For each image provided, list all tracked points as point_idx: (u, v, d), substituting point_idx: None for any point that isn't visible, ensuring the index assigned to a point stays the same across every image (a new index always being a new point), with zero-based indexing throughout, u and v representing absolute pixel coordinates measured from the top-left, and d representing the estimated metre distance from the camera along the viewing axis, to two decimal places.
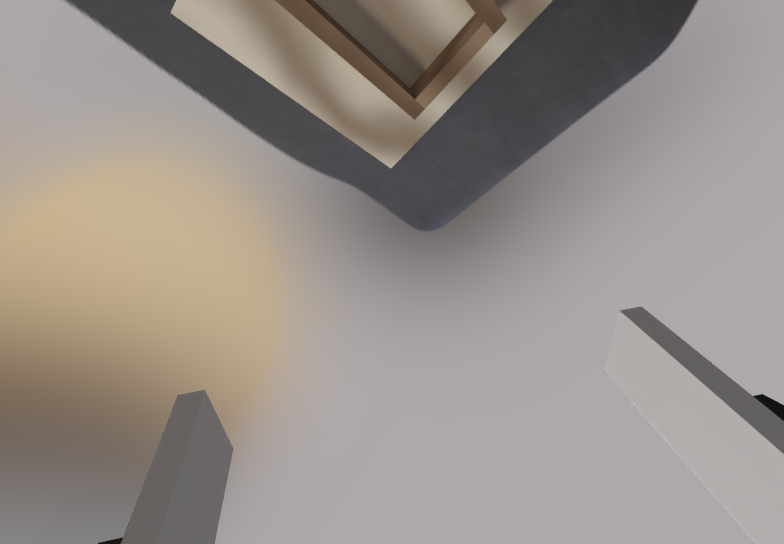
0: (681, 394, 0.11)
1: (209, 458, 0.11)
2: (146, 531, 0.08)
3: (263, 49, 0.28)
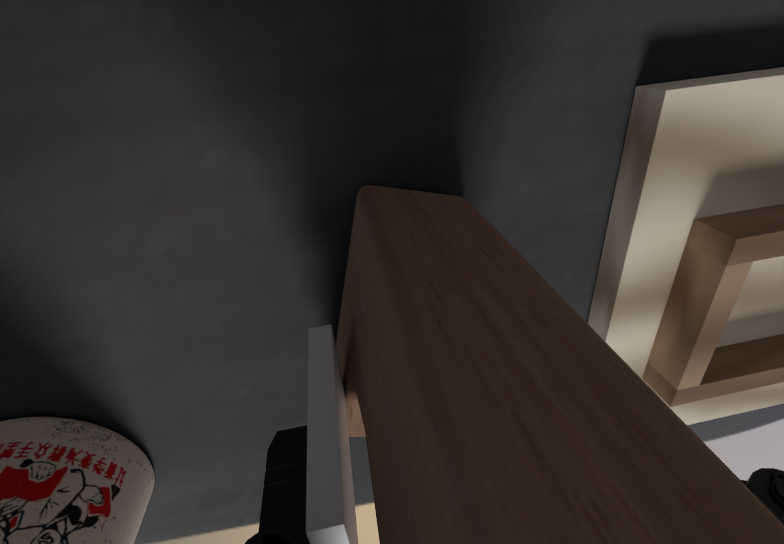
0: None
1: (339, 379, 0.13)
2: (325, 416, 0.10)
3: None
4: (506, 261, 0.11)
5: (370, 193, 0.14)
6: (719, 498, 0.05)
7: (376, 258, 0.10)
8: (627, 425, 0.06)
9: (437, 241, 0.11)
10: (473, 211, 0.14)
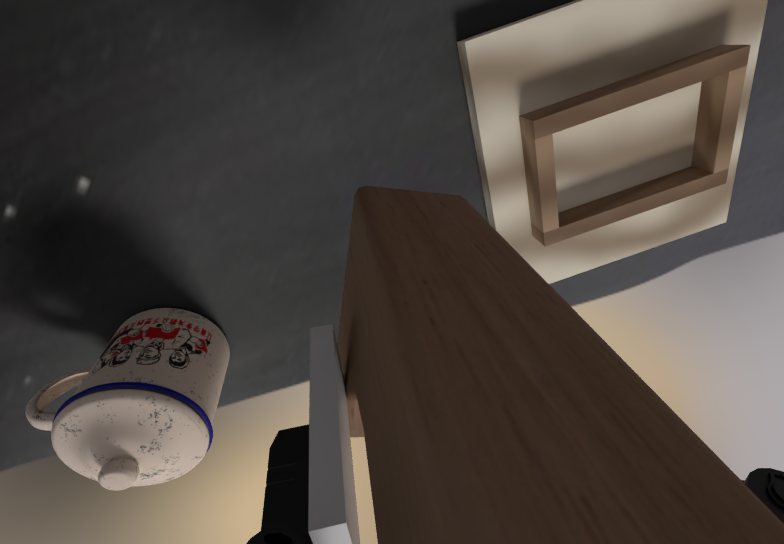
0: None
1: (340, 379, 0.13)
2: (327, 415, 0.10)
3: (567, 260, 0.33)
4: (502, 259, 0.11)
5: (367, 194, 0.14)
6: (711, 491, 0.05)
7: (372, 258, 0.10)
8: (620, 419, 0.06)
9: (433, 240, 0.11)
10: (470, 210, 0.14)
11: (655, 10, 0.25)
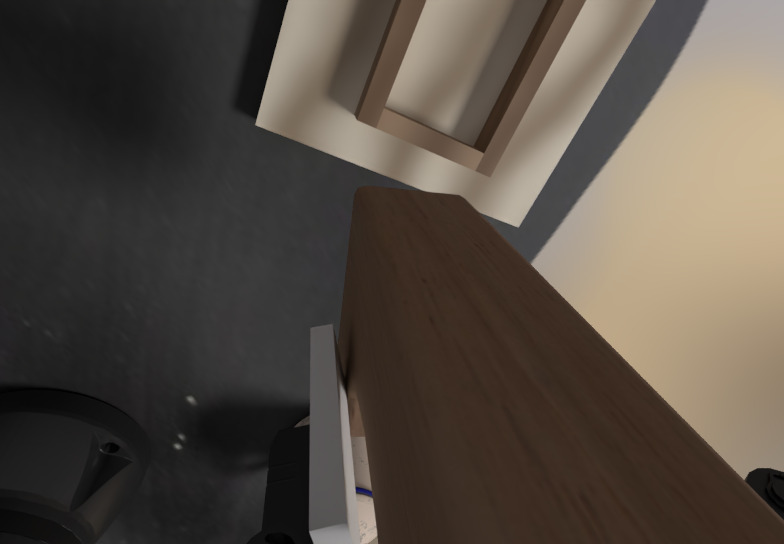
0: None
1: (341, 379, 0.13)
2: (327, 415, 0.10)
3: (540, 150, 0.28)
4: (502, 257, 0.11)
5: (366, 194, 0.14)
6: (712, 488, 0.05)
7: (371, 257, 0.10)
8: (620, 418, 0.06)
9: (432, 239, 0.11)
10: (470, 209, 0.14)
11: None
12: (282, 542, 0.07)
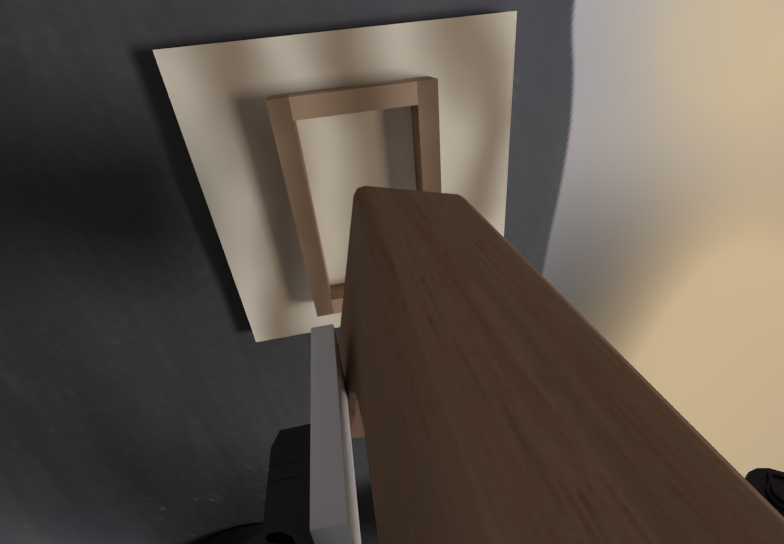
0: None
1: (341, 378, 0.13)
2: (328, 415, 0.10)
3: None
4: (501, 257, 0.11)
5: (365, 194, 0.14)
6: (712, 487, 0.05)
7: (370, 257, 0.10)
8: (619, 416, 0.06)
9: (431, 238, 0.11)
10: (469, 208, 0.14)
11: (234, 188, 0.25)
12: (283, 542, 0.07)
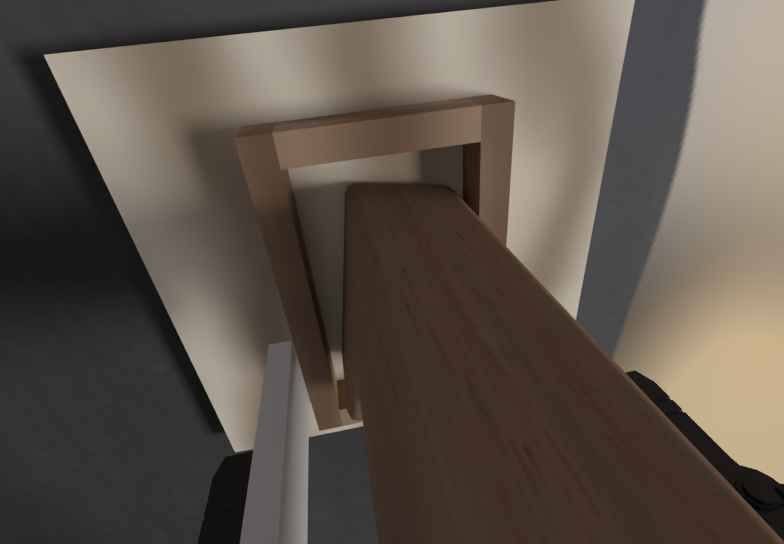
0: None
1: (299, 398, 0.12)
2: (272, 442, 0.10)
3: None
4: (480, 244, 0.11)
5: (355, 191, 0.15)
6: (644, 437, 0.06)
7: (358, 252, 0.11)
8: (571, 381, 0.07)
9: (415, 231, 0.12)
10: (455, 199, 0.15)
11: (194, 261, 0.16)
12: None
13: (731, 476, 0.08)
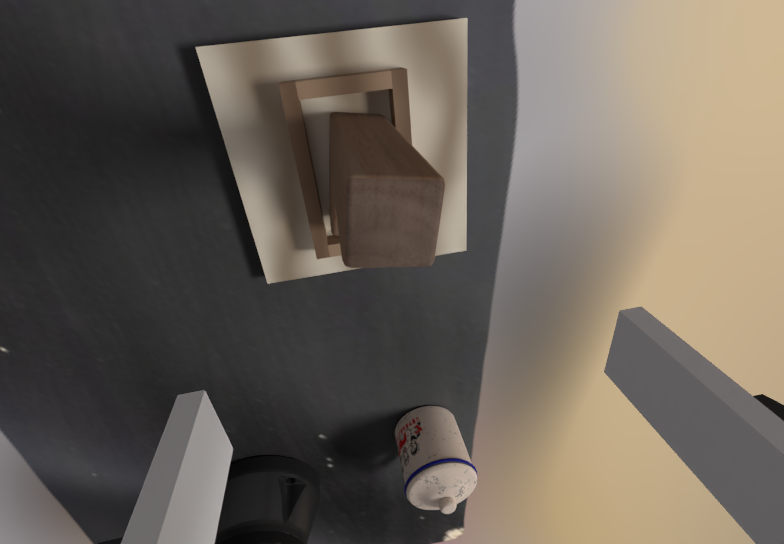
0: (682, 395, 0.11)
1: (209, 458, 0.11)
2: (146, 531, 0.08)
3: (448, 201, 0.37)
4: (384, 126, 0.27)
5: (334, 113, 0.30)
6: (403, 148, 0.22)
7: (332, 128, 0.27)
8: (391, 143, 0.22)
9: (357, 122, 0.28)
10: (382, 117, 0.30)
11: (252, 154, 0.32)
12: None
13: None
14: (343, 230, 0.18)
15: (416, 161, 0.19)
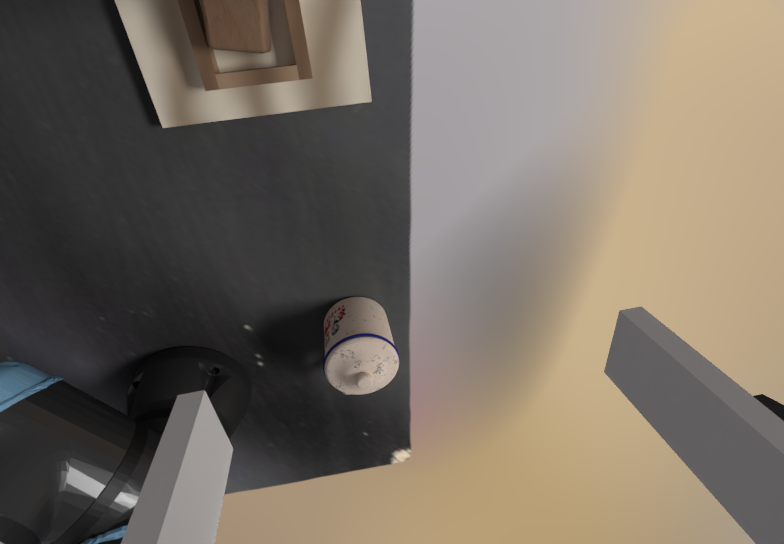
0: (681, 394, 0.11)
1: (209, 458, 0.11)
2: (146, 531, 0.08)
3: (345, 38, 0.36)
4: None
5: None
6: None
7: None
8: None
9: None
10: None
11: None
12: None
13: None
14: None
15: None
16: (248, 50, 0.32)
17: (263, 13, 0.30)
